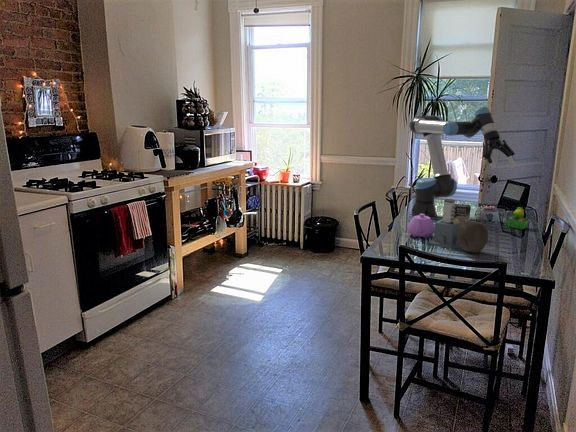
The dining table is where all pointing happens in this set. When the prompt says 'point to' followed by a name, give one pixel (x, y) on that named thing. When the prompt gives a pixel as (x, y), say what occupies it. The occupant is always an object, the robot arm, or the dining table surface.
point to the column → (448, 211)
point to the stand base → (446, 234)
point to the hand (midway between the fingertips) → (504, 168)
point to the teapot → (421, 226)
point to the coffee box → (462, 213)
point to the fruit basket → (517, 219)
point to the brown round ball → (472, 236)
